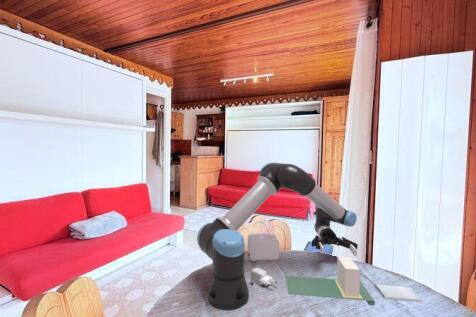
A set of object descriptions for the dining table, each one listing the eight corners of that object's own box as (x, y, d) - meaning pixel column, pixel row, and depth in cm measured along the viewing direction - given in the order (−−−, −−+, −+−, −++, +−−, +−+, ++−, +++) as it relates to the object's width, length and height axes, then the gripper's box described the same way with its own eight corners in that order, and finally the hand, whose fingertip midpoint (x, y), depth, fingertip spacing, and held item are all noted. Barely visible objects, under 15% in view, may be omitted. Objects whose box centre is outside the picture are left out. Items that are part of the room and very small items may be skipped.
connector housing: (345, 295, 86) (345, 268, 86) (336, 280, 96) (337, 256, 95) (359, 296, 85) (360, 269, 85) (349, 281, 95) (350, 257, 95)
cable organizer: (248, 262, 114) (248, 239, 114) (247, 253, 125) (247, 231, 125) (279, 263, 115) (279, 239, 114) (275, 253, 125) (275, 232, 125)
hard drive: (384, 296, 87) (421, 299, 85) (375, 283, 95) (409, 286, 93) (384, 300, 87) (421, 303, 85) (375, 287, 95) (408, 290, 93)
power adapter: (279, 290, 92) (279, 275, 92) (271, 295, 88) (271, 280, 88) (257, 279, 100) (257, 265, 99) (249, 284, 96) (249, 269, 96)
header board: (288, 298, 87) (288, 283, 87) (285, 279, 100) (285, 266, 100) (374, 305, 83) (374, 289, 83) (360, 284, 96) (360, 271, 96)
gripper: (352, 244, 120) (370, 263, 99) (302, 240, 123) (309, 258, 102) (352, 229, 120) (370, 245, 99) (302, 226, 123) (309, 241, 102)
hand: (339, 252), depth 101 cm, fingers open, 13 cm apart
